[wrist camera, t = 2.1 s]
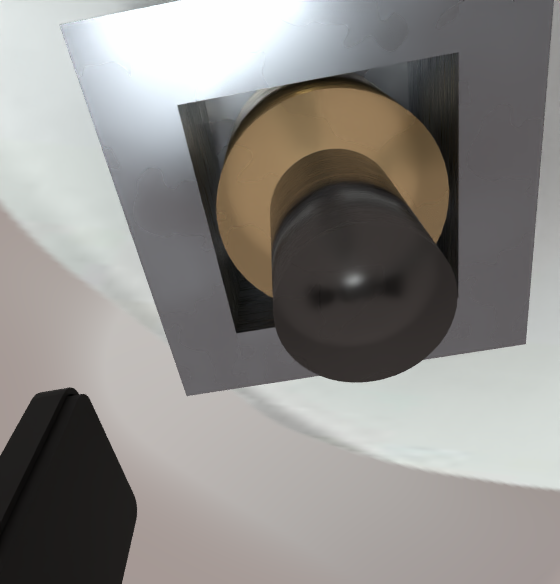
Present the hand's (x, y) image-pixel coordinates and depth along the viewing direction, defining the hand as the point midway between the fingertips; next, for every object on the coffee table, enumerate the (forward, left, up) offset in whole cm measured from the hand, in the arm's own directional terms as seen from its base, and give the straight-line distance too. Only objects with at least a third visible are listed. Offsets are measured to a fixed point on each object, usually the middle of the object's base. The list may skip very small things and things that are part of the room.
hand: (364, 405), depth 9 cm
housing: (-1, 0, -16) cm, 16 cm away
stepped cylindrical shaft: (-1, 0, -15) cm, 15 cm away
